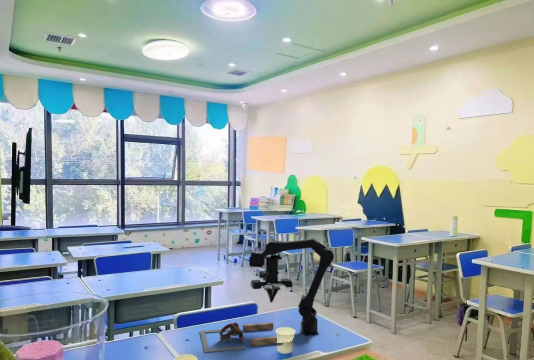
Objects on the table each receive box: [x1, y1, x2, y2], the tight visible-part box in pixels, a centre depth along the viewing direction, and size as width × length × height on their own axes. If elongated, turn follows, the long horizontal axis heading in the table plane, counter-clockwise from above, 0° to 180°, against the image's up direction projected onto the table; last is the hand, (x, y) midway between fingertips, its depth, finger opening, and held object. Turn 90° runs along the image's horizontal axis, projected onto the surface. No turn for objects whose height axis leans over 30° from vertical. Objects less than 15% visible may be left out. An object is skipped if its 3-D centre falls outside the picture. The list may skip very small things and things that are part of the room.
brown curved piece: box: [218, 322, 245, 344], centre depth 158 cm, size 12×10×8 cm
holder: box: [242, 322, 277, 347], centre depth 163 cm, size 14×17×2 cm
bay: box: [199, 328, 246, 354], centre depth 158 cm, size 16×21×1 cm
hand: (271, 302), depth 172 cm, fingers closed
